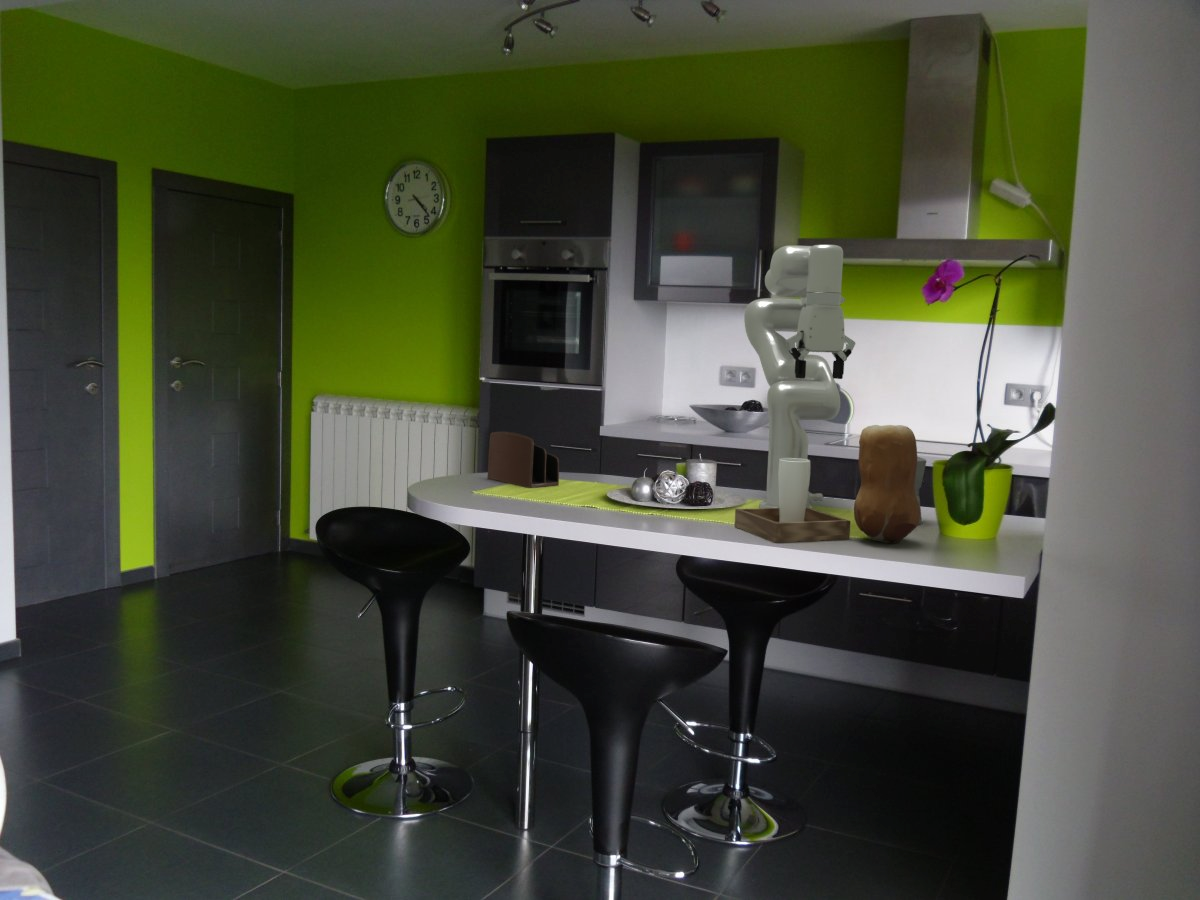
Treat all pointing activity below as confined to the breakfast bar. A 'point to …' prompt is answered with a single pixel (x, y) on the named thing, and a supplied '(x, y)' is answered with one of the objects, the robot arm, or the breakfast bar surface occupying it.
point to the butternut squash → (887, 483)
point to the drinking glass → (793, 488)
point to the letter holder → (521, 461)
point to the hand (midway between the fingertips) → (818, 378)
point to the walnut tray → (792, 525)
